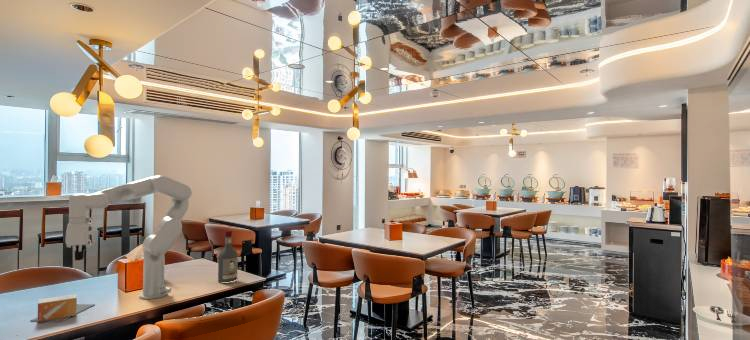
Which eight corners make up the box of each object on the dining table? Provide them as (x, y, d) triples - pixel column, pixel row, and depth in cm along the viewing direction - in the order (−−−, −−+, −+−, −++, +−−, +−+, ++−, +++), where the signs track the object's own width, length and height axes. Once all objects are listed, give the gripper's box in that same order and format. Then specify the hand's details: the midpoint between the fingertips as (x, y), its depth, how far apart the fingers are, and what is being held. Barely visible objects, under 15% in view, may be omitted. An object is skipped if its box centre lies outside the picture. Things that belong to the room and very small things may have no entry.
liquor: (216, 281, 223) (217, 230, 224) (231, 278, 230) (232, 229, 231) (224, 284, 217) (225, 232, 218) (238, 281, 224) (239, 230, 225)
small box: (76, 315, 167) (37, 322, 159) (76, 311, 172) (38, 317, 164) (76, 297, 167) (37, 303, 159) (76, 293, 172) (38, 299, 164)
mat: (94, 305, 182) (94, 304, 182) (61, 321, 162) (61, 320, 162) (67, 305, 181) (67, 304, 181) (30, 321, 161) (30, 320, 161)
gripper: (101, 219, 180) (101, 257, 180) (68, 219, 179) (68, 258, 179) (90, 221, 173) (90, 261, 173) (56, 221, 172) (56, 261, 172)
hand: (79, 259), depth 176 cm, fingers closed
